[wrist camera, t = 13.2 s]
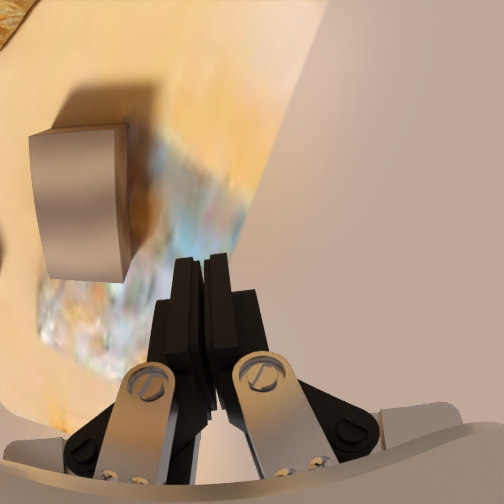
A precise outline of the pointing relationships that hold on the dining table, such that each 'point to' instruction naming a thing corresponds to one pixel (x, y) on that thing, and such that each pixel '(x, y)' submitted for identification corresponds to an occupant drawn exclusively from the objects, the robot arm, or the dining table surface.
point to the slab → (82, 201)
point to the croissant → (12, 16)
